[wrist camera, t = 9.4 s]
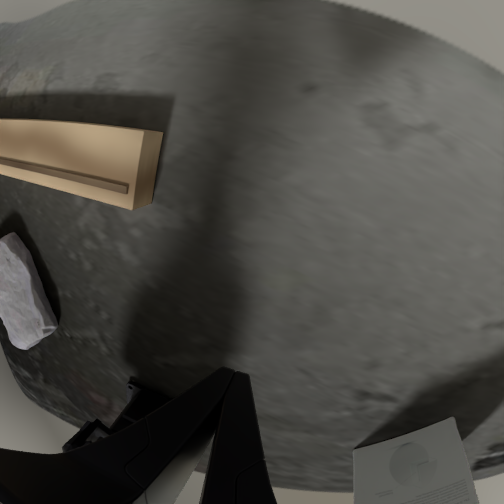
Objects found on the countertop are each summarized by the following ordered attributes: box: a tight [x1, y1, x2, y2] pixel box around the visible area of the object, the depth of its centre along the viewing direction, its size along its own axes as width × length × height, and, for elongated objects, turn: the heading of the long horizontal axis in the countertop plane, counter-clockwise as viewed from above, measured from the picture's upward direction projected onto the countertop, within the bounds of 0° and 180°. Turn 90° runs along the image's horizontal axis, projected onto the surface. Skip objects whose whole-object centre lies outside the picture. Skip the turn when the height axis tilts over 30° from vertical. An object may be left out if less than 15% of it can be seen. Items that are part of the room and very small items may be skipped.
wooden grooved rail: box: [0, 118, 163, 210], centre depth 20 cm, size 5×26×4 cm, turn 77°
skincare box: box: [353, 416, 479, 504], centre depth 19 cm, size 10×6×10 cm, turn 117°
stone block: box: [0, 232, 58, 350], centre depth 27 cm, size 12×5×10 cm
